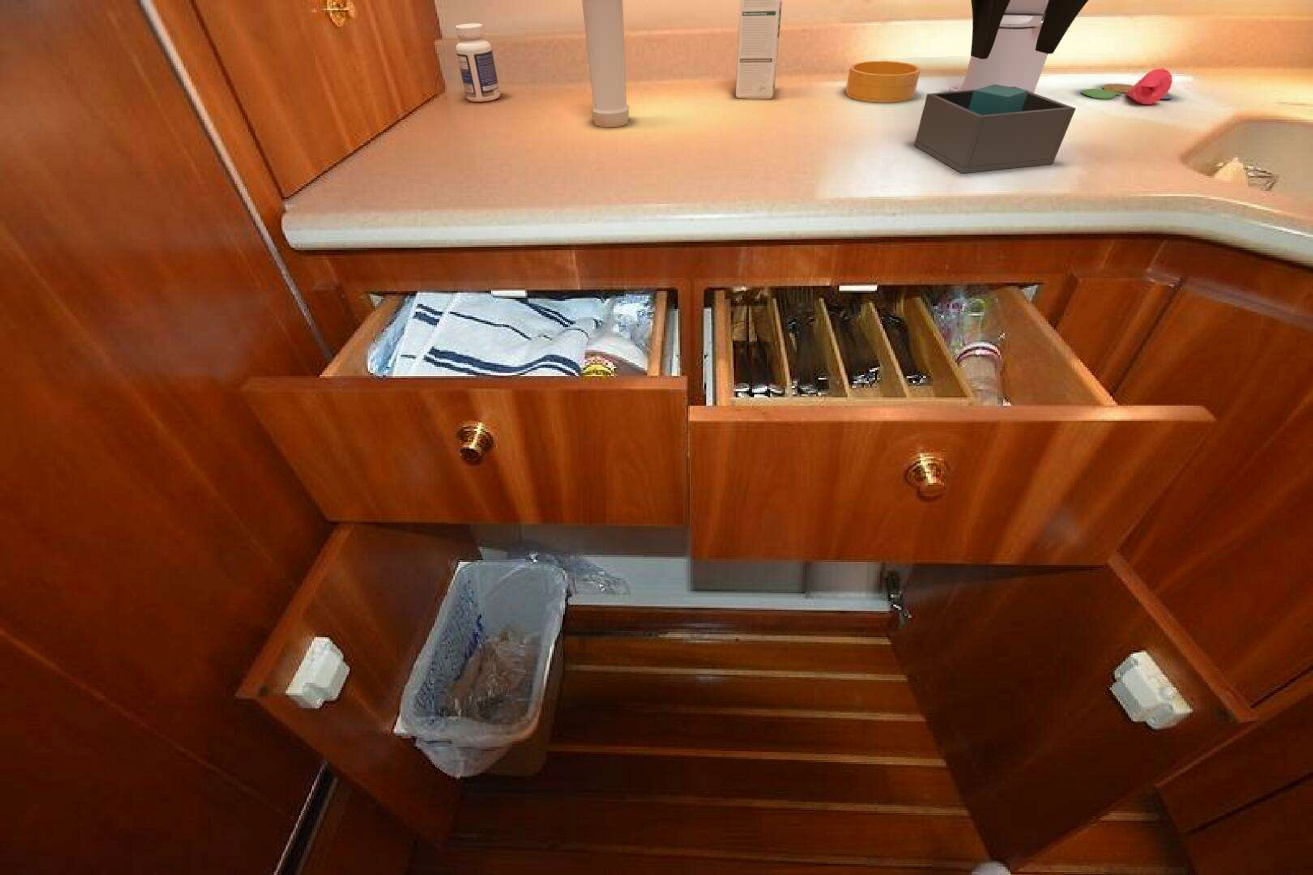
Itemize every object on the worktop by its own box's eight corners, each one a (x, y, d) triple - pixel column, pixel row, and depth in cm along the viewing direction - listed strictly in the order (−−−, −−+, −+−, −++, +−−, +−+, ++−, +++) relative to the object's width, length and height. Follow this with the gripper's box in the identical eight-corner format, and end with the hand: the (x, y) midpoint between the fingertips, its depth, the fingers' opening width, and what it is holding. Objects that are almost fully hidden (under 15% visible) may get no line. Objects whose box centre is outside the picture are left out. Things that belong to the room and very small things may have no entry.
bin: (996, 137, 73) (1014, 86, 69) (1053, 163, 65) (1076, 108, 62) (913, 145, 71) (927, 93, 68) (961, 173, 64) (979, 116, 60)
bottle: (615, 129, 79) (598, -125, 62) (585, 124, 82) (560, -123, 65) (636, 120, 83) (625, -125, 66) (607, 115, 85) (588, -123, 68)
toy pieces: (1198, 103, 82) (1217, 66, 79) (1129, 110, 80) (1146, 72, 77) (1129, 83, 90) (1144, 50, 87) (1066, 89, 89) (1079, 55, 86)
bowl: (893, 84, 94) (899, 58, 91) (926, 99, 87) (933, 72, 84) (835, 89, 93) (839, 63, 90) (863, 105, 85) (869, 77, 83)
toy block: (975, 141, 70) (994, 84, 66) (1007, 149, 68) (1028, 90, 64) (956, 148, 68) (973, 89, 64) (988, 156, 66) (1008, 96, 62)
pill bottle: (502, 93, 96) (489, 21, 90) (498, 101, 92) (484, 27, 86) (469, 95, 96) (454, 23, 90) (464, 103, 92) (447, 28, 86)
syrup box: (772, 99, 89) (784, -22, 79) (733, 98, 90) (740, -21, 80) (774, 90, 93) (786, -26, 83) (737, 89, 94) (744, -25, 84)
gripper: (1026, -122, 49) (971, 67, 58) (1177, -128, 51) (1100, 57, 60) (976, -120, 54) (933, 53, 63) (1115, -125, 56) (1053, 44, 65)
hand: (1011, 54), depth 62 cm, fingers open, 7 cm apart
